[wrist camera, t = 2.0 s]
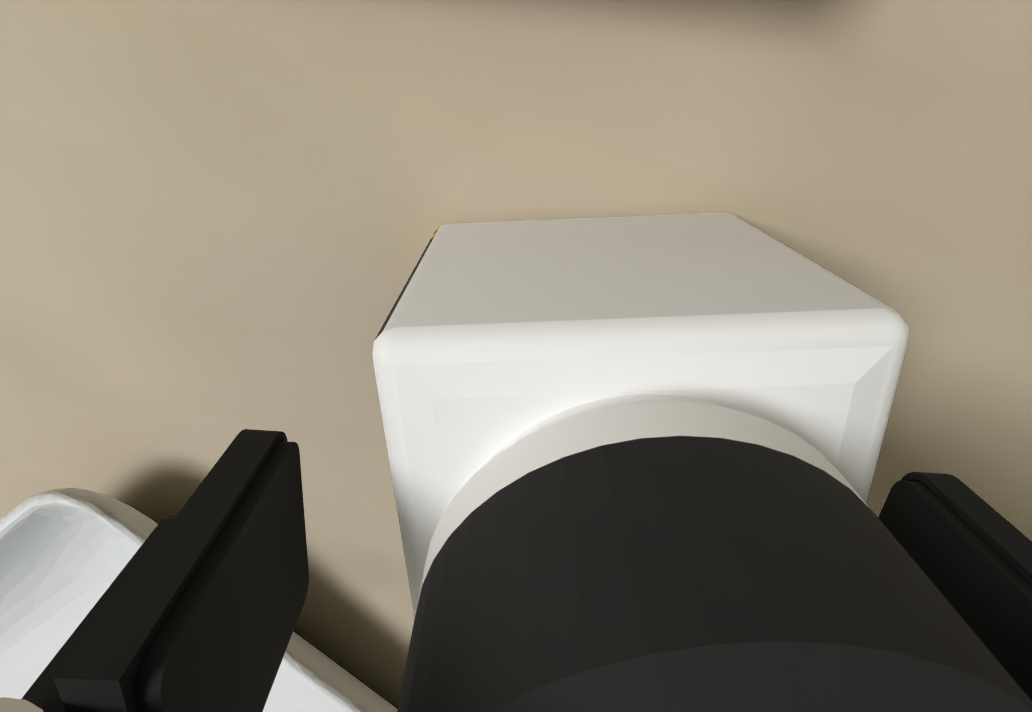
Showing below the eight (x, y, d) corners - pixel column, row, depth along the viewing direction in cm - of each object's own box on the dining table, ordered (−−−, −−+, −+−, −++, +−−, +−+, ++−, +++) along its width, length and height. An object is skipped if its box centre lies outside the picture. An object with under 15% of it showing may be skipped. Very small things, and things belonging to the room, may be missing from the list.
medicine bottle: (433, 221, 14) (133, 713, 3) (734, 208, 14) (1568, 673, 3) (458, 468, 17) (354, 1164, 6) (706, 459, 17) (1060, 1153, 6)
